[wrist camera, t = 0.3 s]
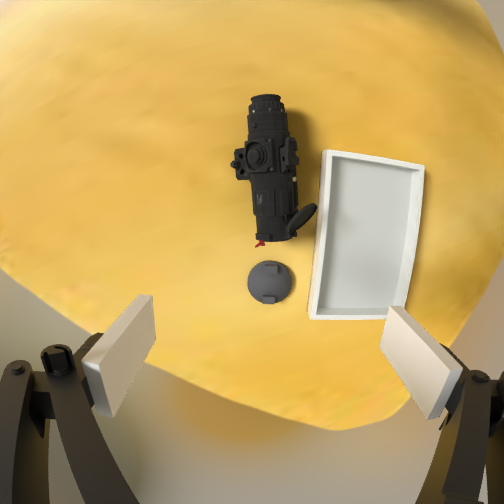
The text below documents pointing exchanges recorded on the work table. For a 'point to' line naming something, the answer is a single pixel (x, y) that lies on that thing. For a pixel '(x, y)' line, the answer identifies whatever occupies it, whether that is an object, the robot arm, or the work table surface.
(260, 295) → the lens cap
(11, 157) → the work table surface
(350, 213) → the tray
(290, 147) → the night vision scope
